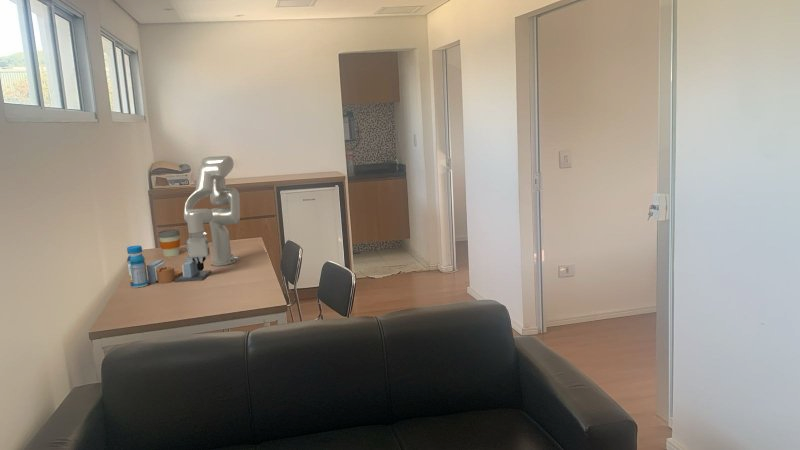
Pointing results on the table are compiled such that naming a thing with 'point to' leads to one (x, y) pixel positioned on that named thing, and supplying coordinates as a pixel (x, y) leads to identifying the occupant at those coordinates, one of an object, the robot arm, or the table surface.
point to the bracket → (167, 274)
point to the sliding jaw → (189, 269)
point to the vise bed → (196, 277)
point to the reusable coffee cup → (169, 242)
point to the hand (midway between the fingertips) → (200, 270)
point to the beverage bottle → (136, 267)
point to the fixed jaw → (154, 270)
